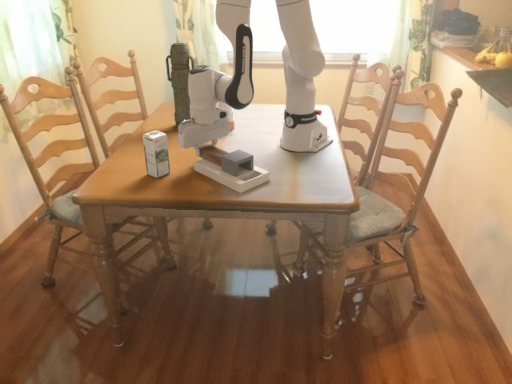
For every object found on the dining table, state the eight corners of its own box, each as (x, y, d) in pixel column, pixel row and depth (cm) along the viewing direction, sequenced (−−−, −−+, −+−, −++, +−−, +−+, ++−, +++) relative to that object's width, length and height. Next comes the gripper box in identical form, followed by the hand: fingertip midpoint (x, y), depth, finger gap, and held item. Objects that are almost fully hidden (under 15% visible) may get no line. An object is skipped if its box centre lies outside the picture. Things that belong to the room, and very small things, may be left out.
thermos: (197, 129, 186) (191, 45, 170) (170, 129, 186) (162, 45, 169) (200, 122, 194) (194, 42, 177) (174, 122, 194) (166, 42, 177)
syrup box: (160, 168, 149) (155, 129, 142) (171, 173, 146) (166, 133, 139) (146, 174, 145) (141, 134, 138) (158, 179, 142) (152, 138, 135)
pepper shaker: (233, 130, 184) (232, 86, 175) (217, 130, 184) (214, 86, 175) (235, 125, 190) (233, 82, 181) (218, 125, 190) (216, 82, 181)
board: (223, 159, 156) (222, 138, 152) (269, 180, 140) (269, 157, 137) (194, 170, 148) (192, 148, 144) (240, 193, 133) (239, 169, 129)
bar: (205, 151, 155) (205, 142, 153) (232, 163, 145) (232, 154, 143) (195, 155, 152) (195, 146, 150) (222, 167, 142) (222, 158, 141)
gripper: (183, 124, 136) (187, 163, 143) (231, 111, 149) (233, 147, 155) (172, 120, 140) (176, 158, 147) (220, 107, 153) (222, 143, 159)
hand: (205, 153), depth 151 cm, fingers closed on bar, 4 cm apart
